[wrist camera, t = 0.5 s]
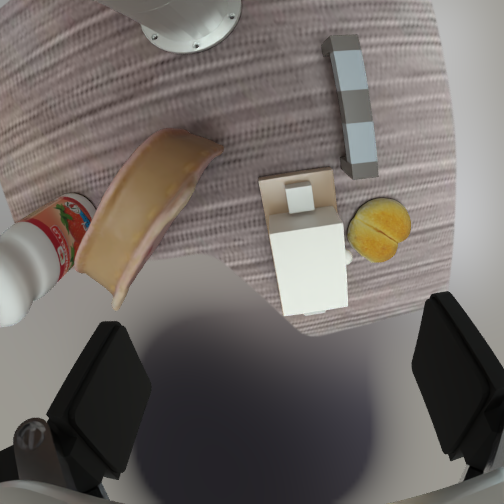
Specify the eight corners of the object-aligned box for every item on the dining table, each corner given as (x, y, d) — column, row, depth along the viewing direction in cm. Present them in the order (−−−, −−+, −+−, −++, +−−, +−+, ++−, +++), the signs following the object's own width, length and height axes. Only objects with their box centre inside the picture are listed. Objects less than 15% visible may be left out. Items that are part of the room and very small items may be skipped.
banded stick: (320, 45, 32) (330, 35, 27) (344, 43, 32) (357, 34, 26) (341, 168, 39) (352, 180, 33) (363, 166, 38) (378, 176, 33)
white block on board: (258, 177, 40) (256, 194, 33) (335, 165, 39) (351, 180, 31) (282, 307, 48) (284, 343, 41) (346, 298, 47) (358, 331, 40)
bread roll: (415, 215, 41) (427, 226, 38) (378, 263, 45) (386, 277, 41) (374, 182, 40) (384, 191, 36) (335, 235, 43) (341, 248, 39)
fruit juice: (50, 189, 41) (-88, 282, 16) (100, 193, 42) (-42, 304, 16) (56, 245, 46) (-55, 356, 20) (104, 252, 46) (-4, 385, 21)
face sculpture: (155, 259, 46) (111, 332, 31) (117, 234, 44) (58, 297, 29) (232, 142, 38) (208, 169, 23) (186, 113, 37) (133, 122, 22)
